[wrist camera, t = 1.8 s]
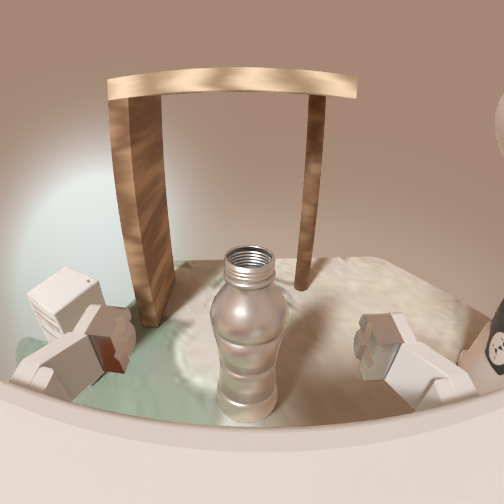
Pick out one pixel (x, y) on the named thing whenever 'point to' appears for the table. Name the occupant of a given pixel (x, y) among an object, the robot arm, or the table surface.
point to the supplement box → (64, 301)
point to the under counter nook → (152, 163)
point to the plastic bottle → (248, 333)
